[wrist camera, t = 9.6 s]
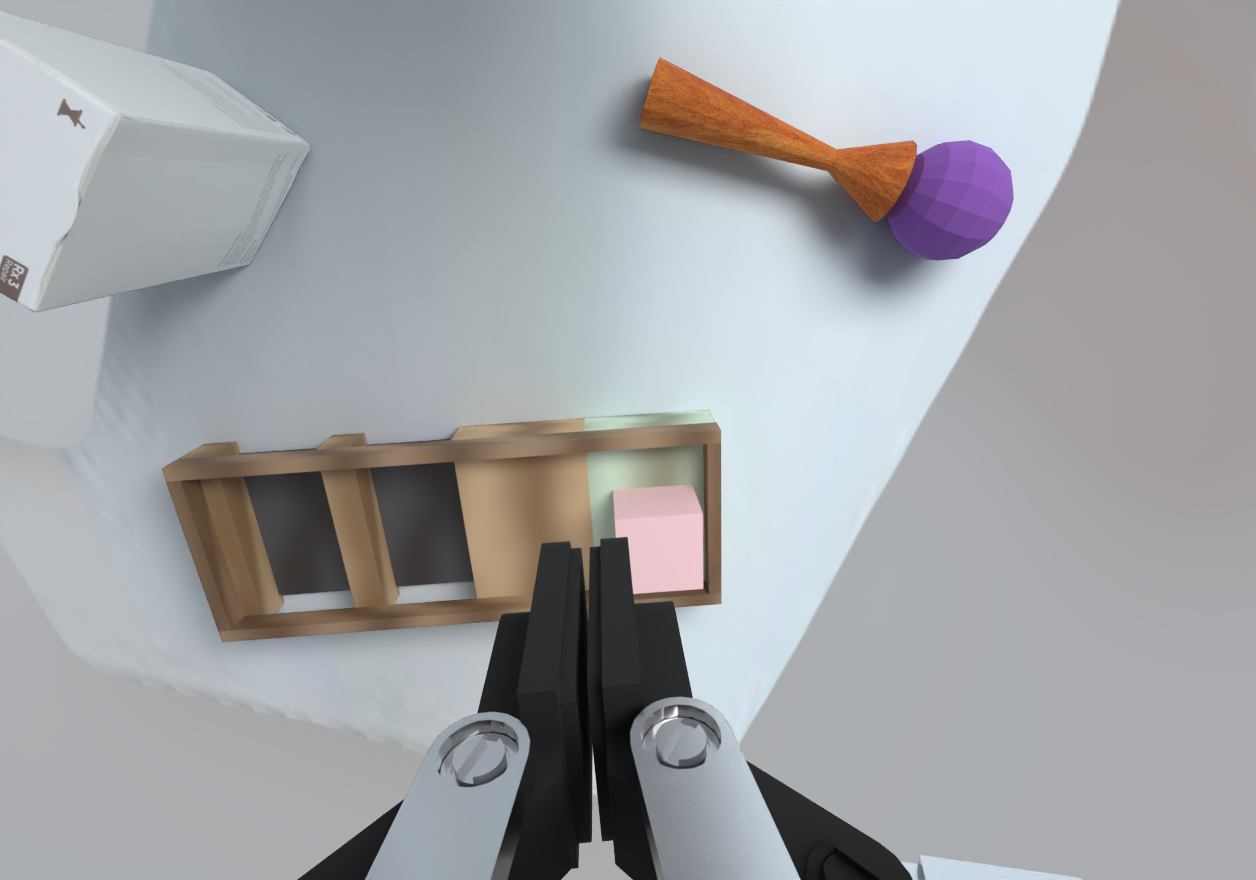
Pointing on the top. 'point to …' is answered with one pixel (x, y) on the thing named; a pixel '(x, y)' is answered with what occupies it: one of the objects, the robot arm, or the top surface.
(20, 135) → the skincare box
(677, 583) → the rose block
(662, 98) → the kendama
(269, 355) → the top surface
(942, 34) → the top surface
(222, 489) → the box
